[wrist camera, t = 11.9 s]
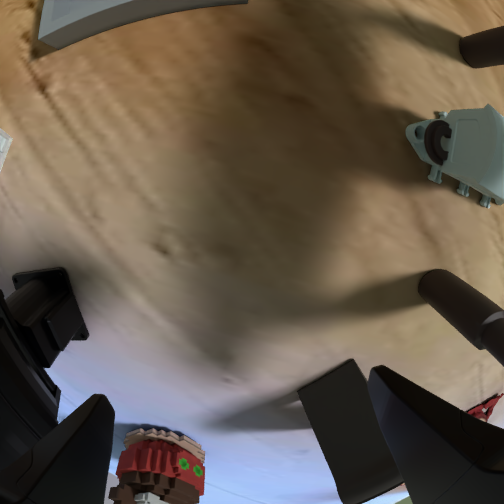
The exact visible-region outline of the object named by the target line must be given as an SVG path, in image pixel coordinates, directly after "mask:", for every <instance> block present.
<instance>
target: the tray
mask: <svg viewBox="0 0 504 504" xmlns="http://www.w3.org/2000/svg"><path fill="white" fill-rule="evenodd" d="M247 3H248V0H44V5H43V10H42V16H41V22H40V28H39V35H38V40H40V41H42V42H44V43H46V44H48V45H50V46H52V47H54V48H56V49H58V50H59V49H62V48H64V47H66V46H68V45H70V44H73V43H75V42H77V41H80V40H82V39H85V38H87V37H90V36H92V35H95V34H98V33H101V32H103V31H106V30H109V29H112V28H115V27H118V26H122V25H125V24H128V23H132V22H135V21H139V20H143V19H146V18H150V17H155V16H159V15H163V14H168V13H173V12H178V11H184V10H190V9H196V8H203V7H211V6H220V5H231V4H247Z"/></svg>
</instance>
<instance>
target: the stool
mask: <svg viewBox="0 0 504 504" xmlns="http://www.w3.org/2000/svg"><path fill="white" fill-rule="evenodd" d="M460 53H461V54H462V55H463V56H464V58H465V60H466V61H467V62H468V63H469V64H470V65H471V66H472V67H474V68H484V67H490V66H497V65H504V26H501V27H497V28H493V29H489V30H486V31H482V32H479V33H475V34H472V35H469V36H466V37H464V38H462V39H461V40H460ZM439 115H440V119H430V120H425V121H421V122H417V123H414V124H410V125H408V126H407V128H406V137H407V139H408V140H409V142H410V143H411V145H412V147H413V148H414V150H415V151H416V153H417V154H418V156H419V158H420V159H421V160H422V161H424V162H426V163H429V164H431V165H432V167H431V172H430V175H428V179H429V180H431V181H434V182H435V183H439V184H440V183H442V180H441V176H442V172H443V173H445V174H447V175H449V176H451V177H453V178H455V179H457V180H459V181H460V184H459V189H457V193H459V194H461V195H463V196H466V197H468V196H469V193H468V191H469V186H470V187H472V188H473V189H475V190H477V191H479V192H480V193H482V194H483V195H482V200H481V201H480V205H482V206H484V207H486V208H490V206H491V205H490V201H491V197H492V198H494V199H495V203H496V204H498V205H502V204H503V203H504V117H503V116H502V115H501V114H500V113H499V112H497V111H496V110H495V109H494V108H493V107H492V106H490V105H489V104H487V105H486V106H485V108H481V109H462V110H451V111H450V112H449V113H448V115H447V112H440V113H439ZM415 130H416V131H417V137H416V136H415ZM418 292H419V293H420V295H421V297H422V298H423V299H424V300H425V301H426V302H427V303H428V304H429V305H431V306H432V307H433V308H434V309H435V310H436V311H437V312H438V313H439V314H440V315H442V316H443V317H444V318H445V319H446V320H447V321H448V322H449V323H450V324H451V325H452V326H453V327H455V328H456V329H457V330H458V331H459V332H460V333H461V334H462V335H463V336H464V337H465V338H466V339H467V340H468V341H469V342H470V343H472V344H473V345H474V346H475V347H476V348H478V349H479V350H483V349H486V350H487V351H488V352H489V353H491V354H492V355H493V356H494V357H495V358H496V359H497V360H498V361H499V362H500V363H501V364H502V365H503V366H504V310H503V309H502V308H500V307H499V306H498V305H497V304H495V303H494V302H493V301H491V300H490V299H489V298H487V297H486V296H484V295H483V294H482V293H480V292H479V291H477V290H476V289H475V288H473V287H472V286H470V285H469V284H467V283H466V282H464V281H463V280H462V279H460V278H459V277H457V276H456V275H454V274H452V273H451V272H449V271H447V270H442V269H439V270H434V271H431V272H429V273H428V274H426V275H425V276H424V277H423V278H422V280H421V282H420V284H419V290H418Z"/></svg>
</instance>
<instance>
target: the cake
mask: <svg viewBox="0 0 504 504" xmlns="http://www.w3.org/2000/svg"><path fill="white" fill-rule="evenodd" d="M124 444H125V447H126V450H125V451H122V453H121V456H120V458H119V462H118V466H117V471H116V475H117V476H118V478H119V481H120V482H119V485H117V487H111V488H110V492H109V497H108V498H109V499H111V500H113V501H114V504H197V503H199V496H202V495H204V479H205V467H204V466H203V463H204V460H205V451H203V450H201V445H200V444H198V443H196V442H194V441H193V440H191V439H190V438H188V437H186V436H185V435H184V436H181V437H179V436H178V435H176V434H175V433H173V432H171V431H170V432H167V433H166V432H165V431H163V430H160V431H157V430H155V429H154V428H152V429H150V430H147V431H144V430H143V429H141V428H140V429H137V430H134V431H132V432H129V433H127V434H126V437H125V439H124Z"/></svg>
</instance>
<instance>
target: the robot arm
mask: <svg viewBox="0 0 504 504" xmlns="http://www.w3.org/2000/svg"><path fill="white" fill-rule="evenodd" d="M59 272H60V273H61V274H62V276H61V275H60V273H59ZM12 280H13V283H14V286H15V289H16V291H15V292H14V293H12V294H11V295H10V296H9V297H8V298H7V299H4V294H3V292H2V290H1V289H0V504H104V498H105V490H106V483H107V476H108V471H109V465H110V459H111V453H112V445H113V431H114V420H115V411H114V409H113V407H112V405H111V404H110V402H109V400H108V399H107V397H106V396H105V395H103V394H93V395H92V396H91V397H90V398H89V399H87V400H86V401H85V402H84V403H83V404H82V405H80V406H79V407H78V408H77V409H76V410H75V411H73V412H72V413H71V414H70V415H69V416H68V417H67V418H65V419H64V420H63V421H62V422H61V423H60V424H58V421H57V415H58V408H59V401H60V395H61V390H60V389H59V387H58V386H57V385H55V384H54V382H53V381H52V380H51V378H50V377H49V375H48V374H47V372H46V371H45V368H50V367H51V365H52V364H53V362H54V361H55V359H56V358H57V356H58V355H59V353H60V352H61V351H64V349H65V348H66V346H67V345H68V343H69V342H70V341H71V340H87V338H88V337H89V332H88V330H87V328H86V325H85V323H84V320H83V317H82V315H81V312H80V309H79V307H78V304H77V301H76V299H75V296H74V293H73V291H72V288H71V285H70V282H69V279H68V275H67V272H66V270H65V269H64V268H61V267H59V268H52V269H45V270H38V271H31V272H24V273H17V274H15V275H14V276H13V277H12ZM82 333H83V334H84V335H83V334H82ZM367 386H368V392H369V395H370V398H371V401H372V404H373V407H374V410H375V413H376V417H377V420H378V423H379V426H380V428H381V430H382V433H383V435H384V437H385V439H386V442H387V444H388V446H389V448H390V451H391V453H392V455H393V457H394V460H395V462H396V464H397V467H398V469H399V471H400V474H401V476H402V478H403V481H404V483H405V486H406V488H407V490H408V493H409V495H410V498H411V500H412V502H413V504H504V429H502V428H500V427H497V426H494V425H492V424H489V423H487V422H485V421H482V420H480V419H478V418H476V417H474V416H472V415H470V414H468V413H467V412H465V411H463V410H460V409H459V408H457V407H456V406H454V405H452V404H450V403H448V402H447V401H445V400H443V399H441V398H439V397H438V396H436V395H434V394H432V393H431V392H429V391H427V390H425V389H424V388H422V387H420V386H419V385H417V384H415V383H413V382H412V381H410V380H408V379H406V378H405V377H403V376H401V375H400V374H398V373H396V372H395V371H393V370H391V369H389V368H388V367H386V366H384V365H379V366H376V367H373V368H372V369H371V371H370V375H369V380H368V385H367Z"/></svg>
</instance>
